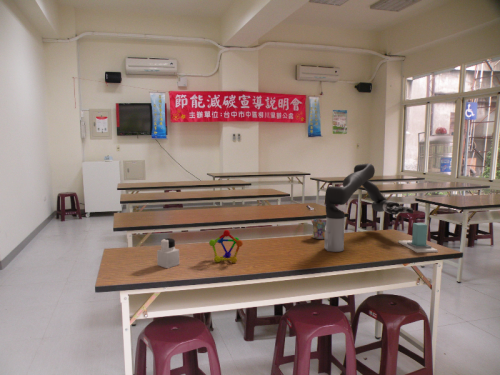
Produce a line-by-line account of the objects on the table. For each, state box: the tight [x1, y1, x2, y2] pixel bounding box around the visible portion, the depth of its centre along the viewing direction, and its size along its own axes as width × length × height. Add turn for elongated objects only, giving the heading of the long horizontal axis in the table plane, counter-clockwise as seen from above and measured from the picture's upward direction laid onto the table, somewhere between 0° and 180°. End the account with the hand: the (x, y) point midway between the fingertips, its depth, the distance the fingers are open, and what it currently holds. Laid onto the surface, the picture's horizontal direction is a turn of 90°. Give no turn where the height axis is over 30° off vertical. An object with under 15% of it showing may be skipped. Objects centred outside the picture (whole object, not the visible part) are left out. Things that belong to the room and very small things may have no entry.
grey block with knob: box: [156, 237, 180, 269], centre depth 158 cm, size 7×7×12 cm
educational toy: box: [208, 229, 244, 264], centre depth 166 cm, size 16×13×15 cm
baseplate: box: [397, 239, 439, 253], centre depth 188 cm, size 11×20×2 cm, turn 4°
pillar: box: [411, 222, 428, 246], centre depth 186 cm, size 5×5×12 cm
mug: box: [311, 218, 326, 240], centre depth 208 cm, size 12×9×11 cm
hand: (405, 211), depth 196 cm, fingers open, 8 cm apart
